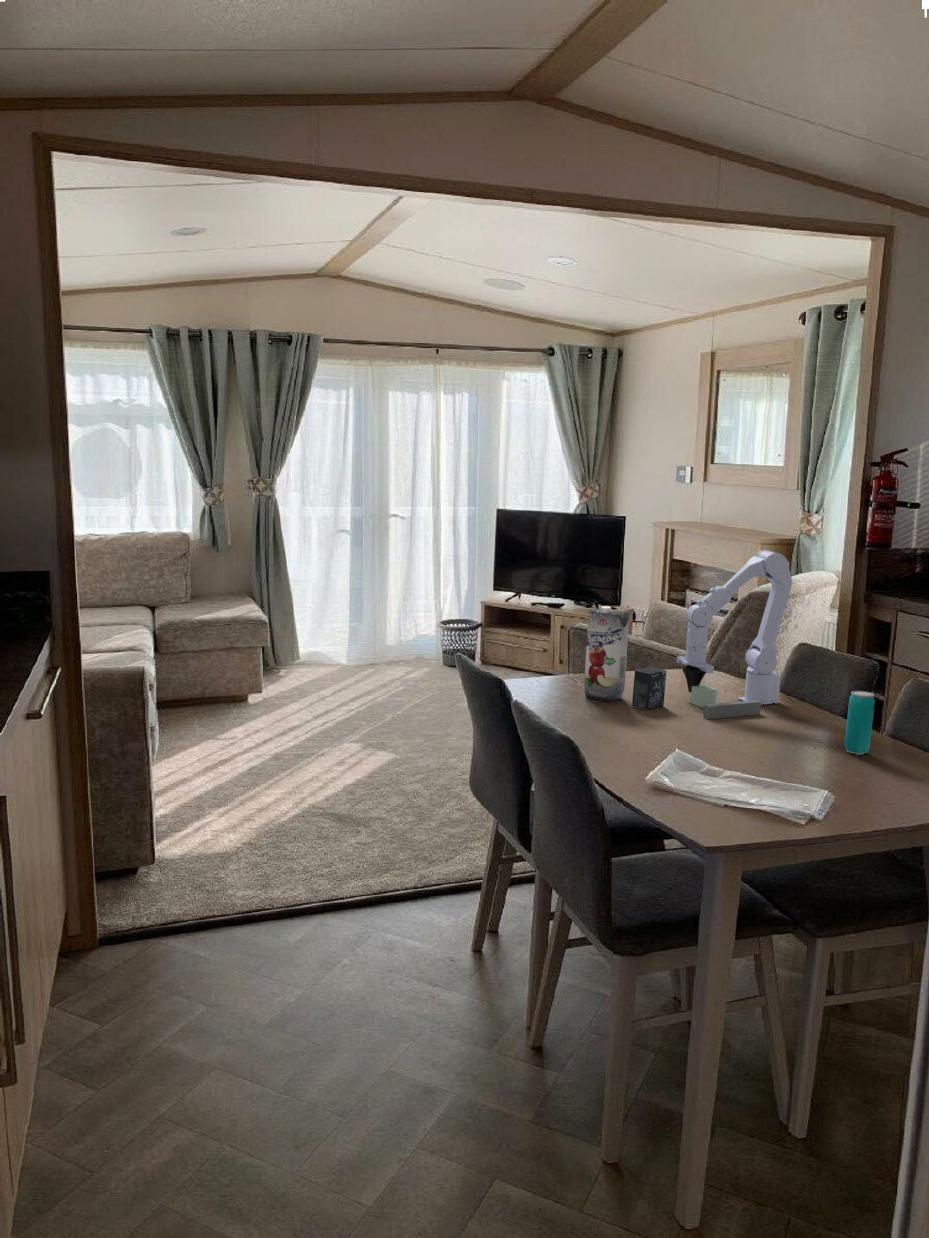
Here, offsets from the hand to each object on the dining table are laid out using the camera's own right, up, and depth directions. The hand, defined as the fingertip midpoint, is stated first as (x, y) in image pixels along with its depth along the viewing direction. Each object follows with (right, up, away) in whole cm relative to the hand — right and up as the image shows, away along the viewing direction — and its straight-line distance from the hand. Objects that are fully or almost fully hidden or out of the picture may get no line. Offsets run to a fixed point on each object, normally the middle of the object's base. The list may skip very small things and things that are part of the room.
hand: (692, 692), depth 287 cm
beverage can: (+29, -12, -46) cm, 56 cm away
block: (+2, -3, -4) cm, 6 cm away
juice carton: (-26, -2, -1) cm, 26 cm away
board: (+7, -5, -15) cm, 18 cm away
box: (-15, -4, -9) cm, 17 cm away
